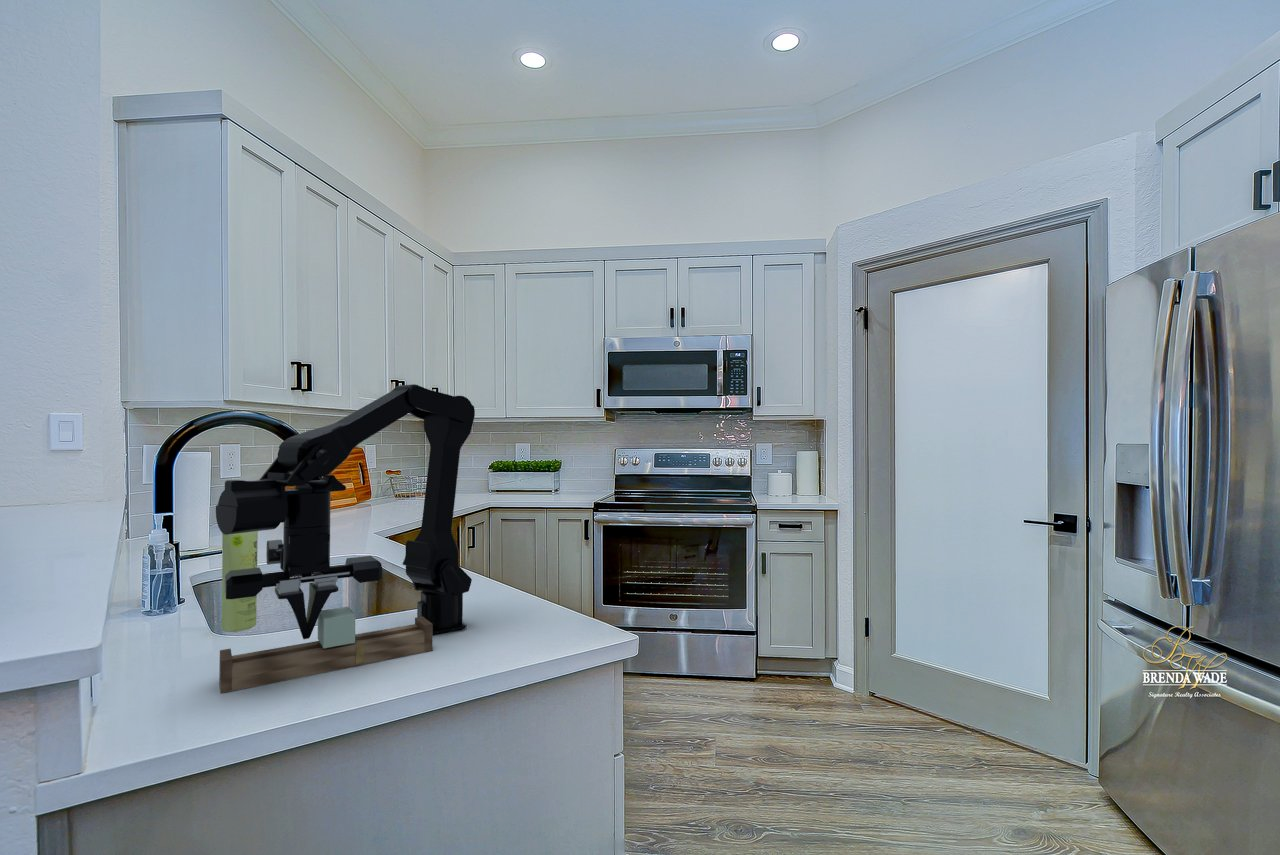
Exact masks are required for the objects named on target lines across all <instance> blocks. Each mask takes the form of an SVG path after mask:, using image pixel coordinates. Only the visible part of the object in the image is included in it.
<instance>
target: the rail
mask: <svg viewBox="0 0 1280 855" xmlns="http://www.w3.org/2000/svg"><path fill="white" fill-rule="evenodd" d="M433 635H434V634H433V624H432V623H431V622H429V621H428V620H427V619H425V618H424V617H423V616H422V617H417V616H416V617H414V623H413V624H409V625H408V624H407V625H402V626H396V627H391V628H385V629H380V630H372V631H368V632H362V633H355V643H351V644H345V645H340V646H334V647H328V648H323V647H322V645H321V644H320V642H319V640H315V641H310V642H304V643H299V644H292V645H286V646H281V647H275V648H274V647H273V648H269V649H264V650H258V651H253V652H252V651H251V652H245V653H241V654H234V655H232V649H231V648H225V649H224V648H223V649H220V650H219V664H218V665H219V668H218V669H219V670H218V671H219V672H218V674H219V675H218V677H219V678H218V679H219V680H218V684H219V692H220V694H224V693H230V692H233V691H239V690H244V689H250V688H253V687H259V686H265V685H269V684H273V683H279V682H284V681H289V680H293V679H298V678H304V677H308V676H309V677H310V676H313V675H318V674H324V673H328V672H334V671H338V670H342V669H343V670H344V669H347V668H354V667H358V666H363V665H369V664H374V663H377V662H378V663H379V662H383V661H387V660H393V659H398V658H402V657H403V658H404V657H408V656H414V655H417V654H423V653H428V652H432V651H433Z"/></svg>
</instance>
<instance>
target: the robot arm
mask: <svg viewBox="0 0 1280 855" xmlns="http://www.w3.org/2000/svg"><path fill="white" fill-rule="evenodd" d="M475 412H476V410H475V406H474V405H473V403H472V402H471V400H470V399H469V398H467V396H463V395H450V394H447V393H443V392H439V391H437V390H436V391H435V390H432V389H428V388H426V387H423V386H420V385H418V384H415V383H414V384H413V383H412V384H402V385H397V386H395V387H394V388H393V389H392V390H391V391H389V392H387V393H386V394H384V395H382V396H380V397H378V398H377V399H375V400H373V401H372V402H370V403H368V404H366V405H365V406H363V407H361V408H359V409H357V410H355V411H354V412H351V413H350V414H349V415H347V416H345V417H343V418H341V419H340V420H337V421H336V422H334V423H331V424H329V425H324V426H322V427H318V428H314V429H310V430H308V431H307V430H306V431H305V432H301V433H299V434H296V435H292V436H290V437H288V438H286V439H285V440H283V441H282V442H281V443H280V444H279V446H278V452H277V457H276V458H275V459H274V461H273V462H272V463H271V464H270V466H268V468H267V469H266V471H265V472H264V473H263V475H262V476H261V477H260V478H259V479H258V480H239V479H231V480H230V479H229V480H225V481H224V490H222V492H221V493H220V496H219V499H218V502H217V505H215V518H216V523H217V526H218V528H219V531H220V532H221V534H222V533H223V534H225V535H228V534H237V533H245V532H254V531H258V532H261V531H271V530H275V529H277V528H279V526H280V525H281V523H283V540H282V539H273V540H272V539H271V540H267V541H266V552H265V553H266V556H265V557H266V565H275V564H279V565H280V566H279V568H280V570H281V571H275V572H274V571H273V572H267V573H263V572H262V570H261V568H260V567H257V568H250V569H240V570H231V571H229V572H228V573H227V574H226V575H225V596H226V599H239V598H246V597H254V596H256V595H259V593H260V592H261V591H263V589H264V588H270V587H274V594H275V596H276V598H277V599H278V600H287V601H288V603H289V605H290V608H291V609H292V611H293V614H294V617H295V620H296V623H297V626H298V629H299V631H300V633H301V634H300V635H301V637H302V639H303V640H307V639H310V638H311V635H312V633H313V631H314V628H315V626H316V623H317V622H318V616H319V614H320V612H321V610H323V608H324V606H325V605H326V603H327V601H328V599H329V597H330V595H331V594H333V593H337V592H339V586H338V585H337V582H338V580H339V579H344V578H345V579H346V578H353V579H354V580H355V581H357V582H358V583H360V584H362V583H368V582H369V583H370V582H371V583H372V582H375V581H376V582H378V581H381V580H383V565H382V563H381V561H379V560H378V559H376V558H375V557H373V556H372V555H365V556H356V557H347V558H346V560H345V564H340V565H339V564H338V565H331V499H332V498H331V493H332V492H343V491H344V492H345V491H346V489H347V486H346V485H345V484H343V483H342V482H341V481H340V480H338V479H337V477H336V475H334V474H331V473H333V472H334V471H335V470H336V469H337V468H338V467H339V466H341V464H343V463H344V462H345V461H346V460H348V458H349V456H350V454H351V453H352V451H353V450H354V449H355V448H356V447H357V446H358V445H359V444H361V443H362V442H364V441H366V440H368V439H369V438H371V437H372V436H374V435H376V434H377V433H379V432H381V431H382V430H383V429H385V428H388V427H389V426H390V425H391V424H393V423H395V422H396V421H398V420H400V419H402V418H403V417H405V416H406V415H408V414H410V416H412V417H414V418H417V419H419V420H423V430H424V433H425V435H426V439H427V440H428V443H429V447H430V448H429V457H428V459H429V460H428V465H427V466H428V467H427V476H426V483H425V484H426V485H425V493H424V501H423V511H422V519H421V527H420V531H419V533H418V534H417V535H416V537H415V539H414V540H410V539H408V540H407V541H406V542H405V554H404V555H405V556H404V559H403V562H402V565H403V566H405V574H406V576H407V577H408V578H409V579H410V581H411V582H412V585H413V588H414V590H415V591H417V592H418V591H420V600H419V601H417V605H416V606H417V608H416V611H417V613H416V614H417V616H416V617H422V616H423V617H424V618H425V619H427V620H428V621H429V622H431V623H432V624H433V635H436V634H441V633H447V632H452V631H458V630H462V629H463V630H464V629H467V624H466V623H464V621H463V615H464V613H463V612H464V611H463V606H464V605H463V604H464V600H463V598H464V597H463V596H464V594H465V593H468V592H469V591H470V588H471V585H472V581H473V579H472V578H471V576H469V575H468V574H467V572H466V571H464V569H463V568H461V567H460V565H459V564H460V562H459V561H460V559H459V547H458V546H457V543H456V540H455V538H454V535H453V531H452V529H453V519H454V509H455V503H456V492H457V484H458V483H457V482H458V475H459V466H460V465H459V464H460V463H459V462H460V454H461V449H462V447H463V446H464V444H465V443H466V441H467V439H468V438H469V436H470V435H471V432H472V429H473V425H474V421H475V416H476V413H475ZM315 478H320V479H319V480H313V479H315ZM286 487H294V488H287V489H286ZM305 583H309V584H308V585H309V586H308V590H309V591H308V593H309V594H308V602H307V609H306V604H305V603H306V602H305V593H304V592H303V590H302V589H301V586H302V584H305ZM306 610H307V611H306Z"/></svg>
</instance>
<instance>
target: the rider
mask: <svg viewBox="0 0 1280 855" xmlns="http://www.w3.org/2000/svg"><path fill="white" fill-rule="evenodd" d="M355 634H356V613H355V611H353V610H352V609H351V608H350V607H349V606H342V607H337V608H335V607H334V608H328V609H327V608H326V609H322V610H321V612H320V614H319V616H318V619H317V641H319V642H320V644H321V645H322V647H323V648H328V647H334V646H340V645H345V644H351V643H355Z"/></svg>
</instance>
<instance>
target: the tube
mask: <svg viewBox="0 0 1280 855" xmlns="http://www.w3.org/2000/svg"><path fill="white" fill-rule="evenodd" d="M258 533H259V531H254V532H245V533H237V534H228V535H225V534H223V533H222V532H221V534H222V536H221V537H222V538H221V539H222V541H221V545H222V546H221V547H222V548H221V549H222V558H221V560H222V565H221V570H222V571H221V572H222V573H221V574H222V575H221V580H222V582H221V583H222V584H221V585H222V586H221V596H222V597H221V630H222V631H223V632H226V633H237V632H242V631H246V630H250V629H253V628H254V627H256V625H257V602H258V601H257V600H258V598H257V597H258V596H257V595H258V594H257V595H256V596H254V597H246V598H239V599H226V596H225V575H226V574H227V573H228V572H229V571H231V570H240V569H250V568H258V539H259V538H258Z"/></svg>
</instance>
